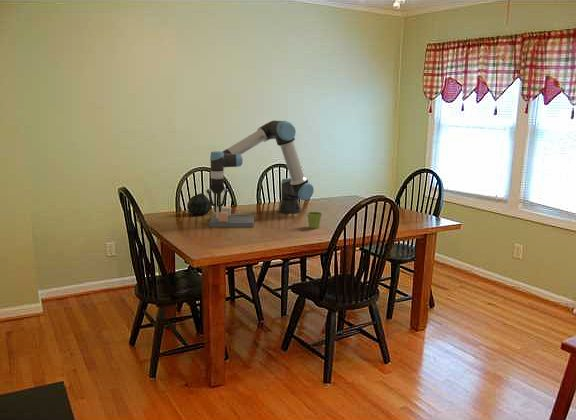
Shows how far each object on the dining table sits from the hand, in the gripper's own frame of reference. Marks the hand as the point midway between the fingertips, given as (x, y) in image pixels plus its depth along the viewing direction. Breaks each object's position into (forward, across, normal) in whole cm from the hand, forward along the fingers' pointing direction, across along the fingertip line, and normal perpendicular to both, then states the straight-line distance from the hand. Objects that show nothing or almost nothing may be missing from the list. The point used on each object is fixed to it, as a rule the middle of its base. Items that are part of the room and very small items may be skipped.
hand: (217, 217), depth 300 cm
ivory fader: (+2, -4, -15) cm, 16 cm away
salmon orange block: (+2, -3, 0) cm, 4 cm away
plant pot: (+6, -57, +3) cm, 58 cm away
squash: (+5, +15, -33) cm, 36 cm away
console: (+5, -8, -8) cm, 13 cm away
